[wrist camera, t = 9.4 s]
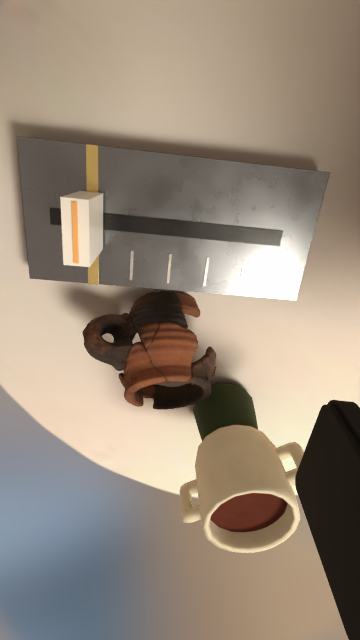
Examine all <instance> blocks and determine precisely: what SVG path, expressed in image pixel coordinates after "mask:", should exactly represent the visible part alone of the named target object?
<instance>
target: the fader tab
mask: <svg viewBox="0 0 360 640" xmlns="http://www.w3.org/2000/svg"><path fill="white" fill-rule="evenodd" d="M60 202H61V223H62V245H63V265H70V266H82V267H90V266H91V265H92V263H93V262H94V260H95V259H96V258H97V256H98V255H99V254H100V252H101V251H102V250H103V193H96V192H87V191H78V192H75V193H72V194H68V195H65V196H62V197H60Z"/></svg>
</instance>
